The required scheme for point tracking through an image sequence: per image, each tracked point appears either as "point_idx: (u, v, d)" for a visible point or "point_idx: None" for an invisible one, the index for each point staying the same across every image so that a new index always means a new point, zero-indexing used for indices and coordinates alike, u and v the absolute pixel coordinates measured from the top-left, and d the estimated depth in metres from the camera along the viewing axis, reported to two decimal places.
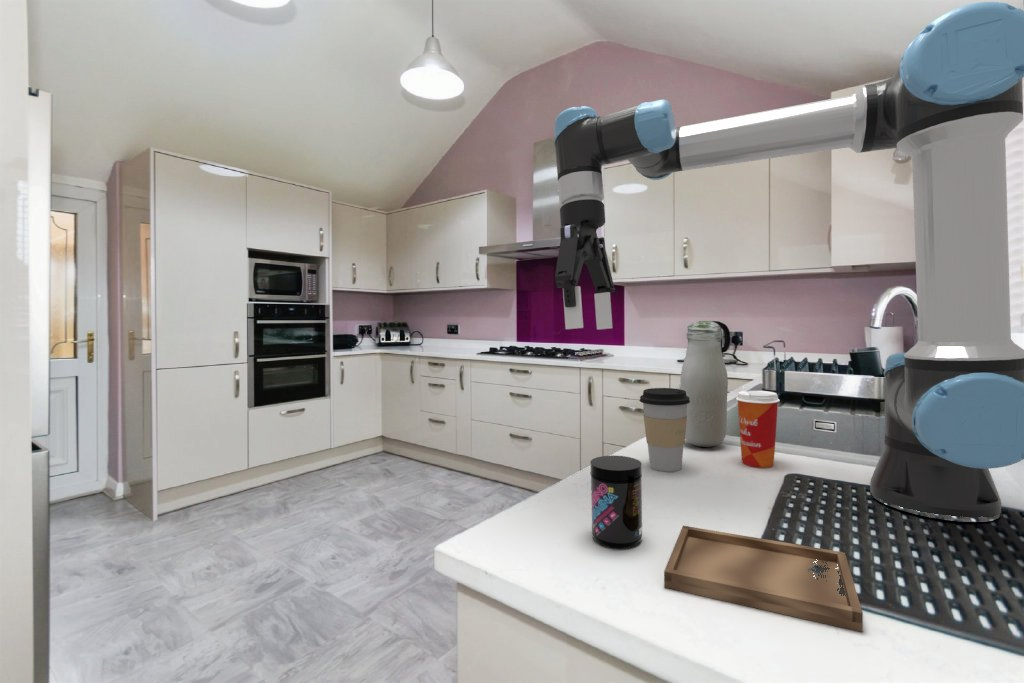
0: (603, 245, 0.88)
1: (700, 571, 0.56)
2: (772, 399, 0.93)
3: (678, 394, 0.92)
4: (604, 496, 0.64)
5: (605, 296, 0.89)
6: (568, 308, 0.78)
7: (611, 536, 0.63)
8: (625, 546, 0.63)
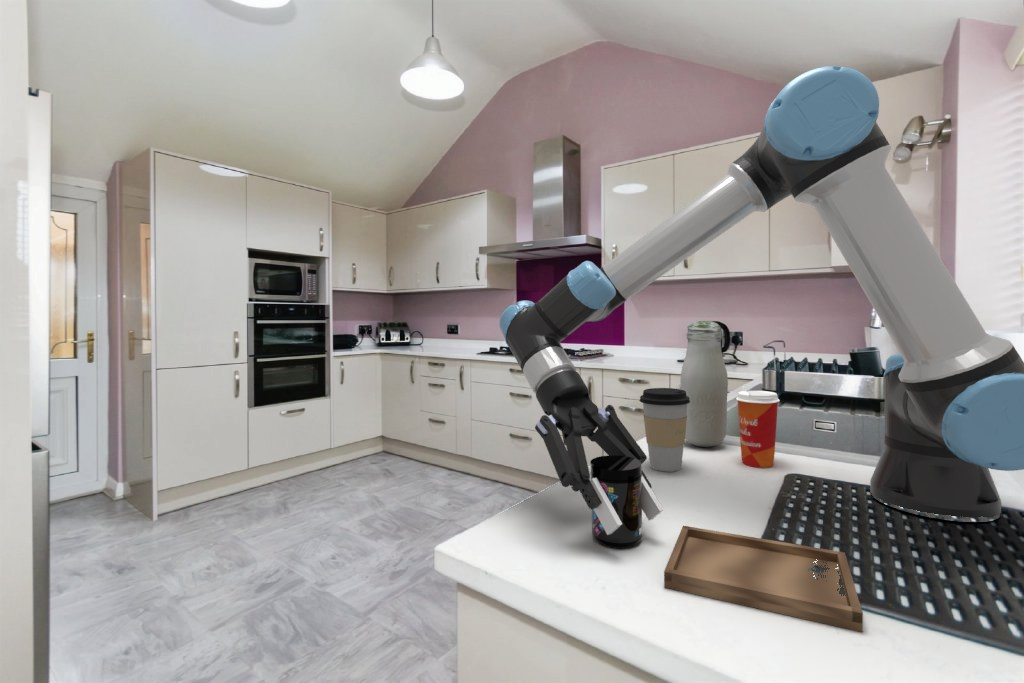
0: (611, 412, 0.74)
1: (700, 571, 0.56)
2: (772, 399, 0.93)
3: (678, 394, 0.92)
4: None
5: None
6: (597, 508, 0.63)
7: (611, 536, 0.63)
8: (625, 546, 0.63)
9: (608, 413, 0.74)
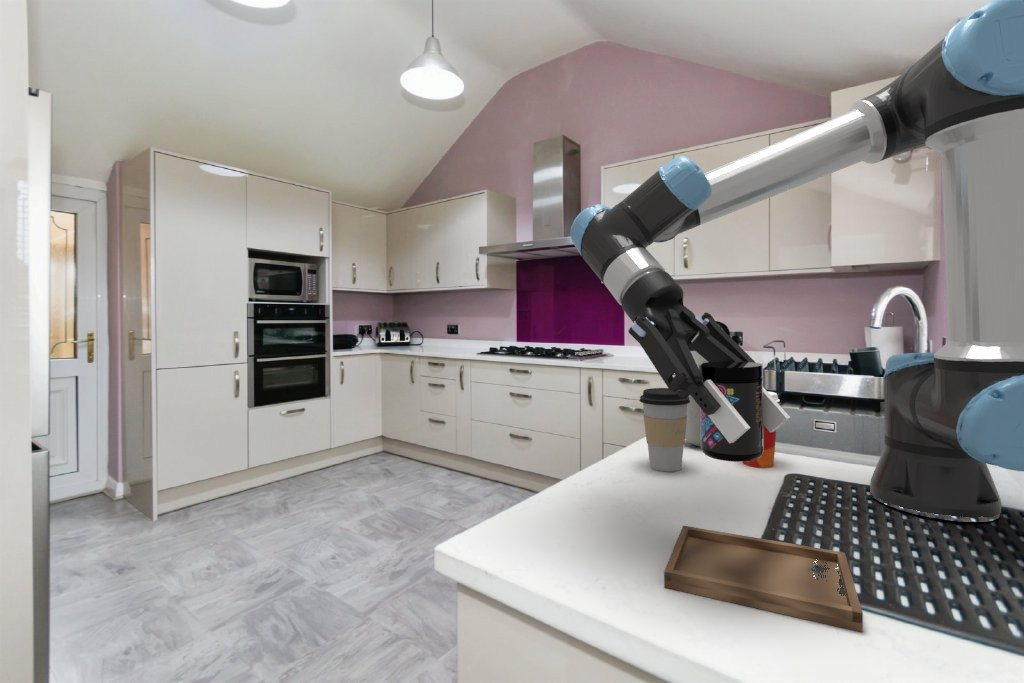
0: (710, 320, 0.65)
1: (700, 571, 0.56)
2: None
3: (678, 394, 0.92)
4: None
5: None
6: (714, 414, 0.54)
7: (731, 447, 0.54)
8: (747, 458, 0.54)
9: (707, 320, 0.64)
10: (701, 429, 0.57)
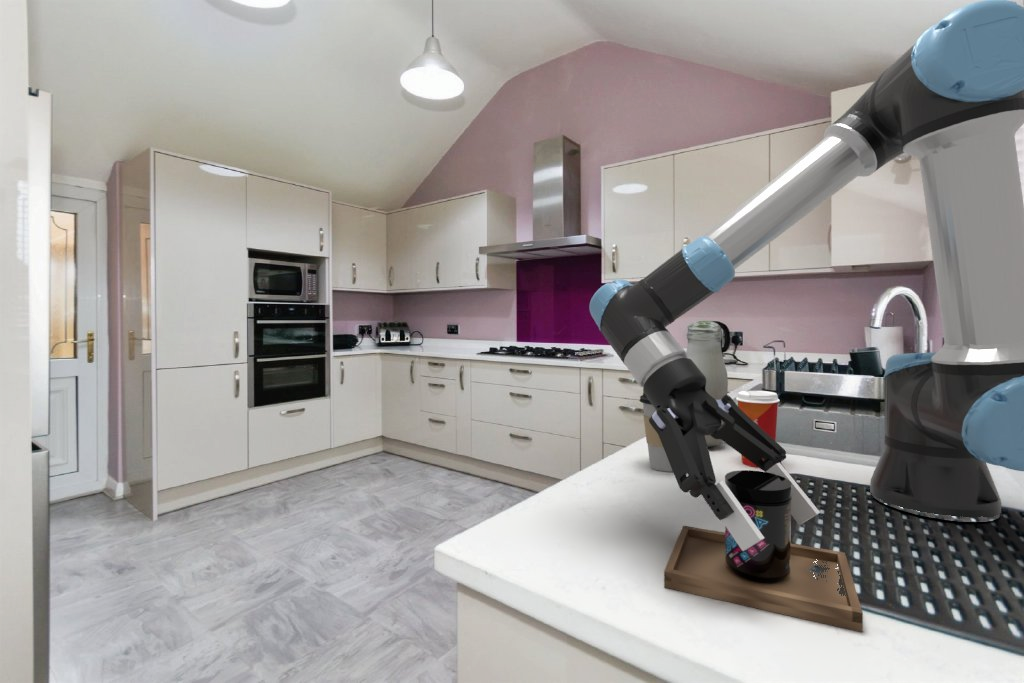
0: (731, 404, 0.64)
1: (700, 571, 0.56)
2: (772, 399, 0.93)
3: None
4: None
5: (776, 471, 0.59)
6: (727, 519, 0.52)
7: (758, 569, 0.53)
8: (775, 581, 0.53)
9: (729, 405, 0.64)
10: (727, 543, 0.56)
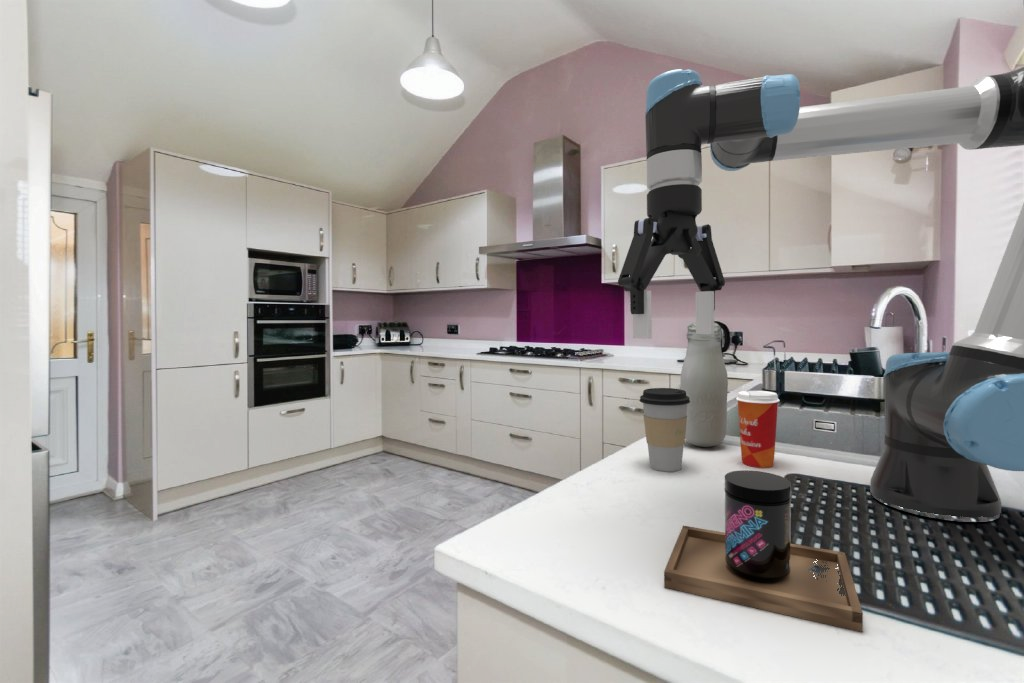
0: (708, 234, 0.74)
1: (700, 571, 0.56)
2: (772, 399, 0.93)
3: (678, 394, 0.92)
4: (749, 520, 0.53)
5: (707, 296, 0.75)
6: (636, 315, 0.69)
7: (758, 569, 0.53)
8: (775, 581, 0.53)
9: (705, 236, 0.73)
10: (727, 543, 0.56)
